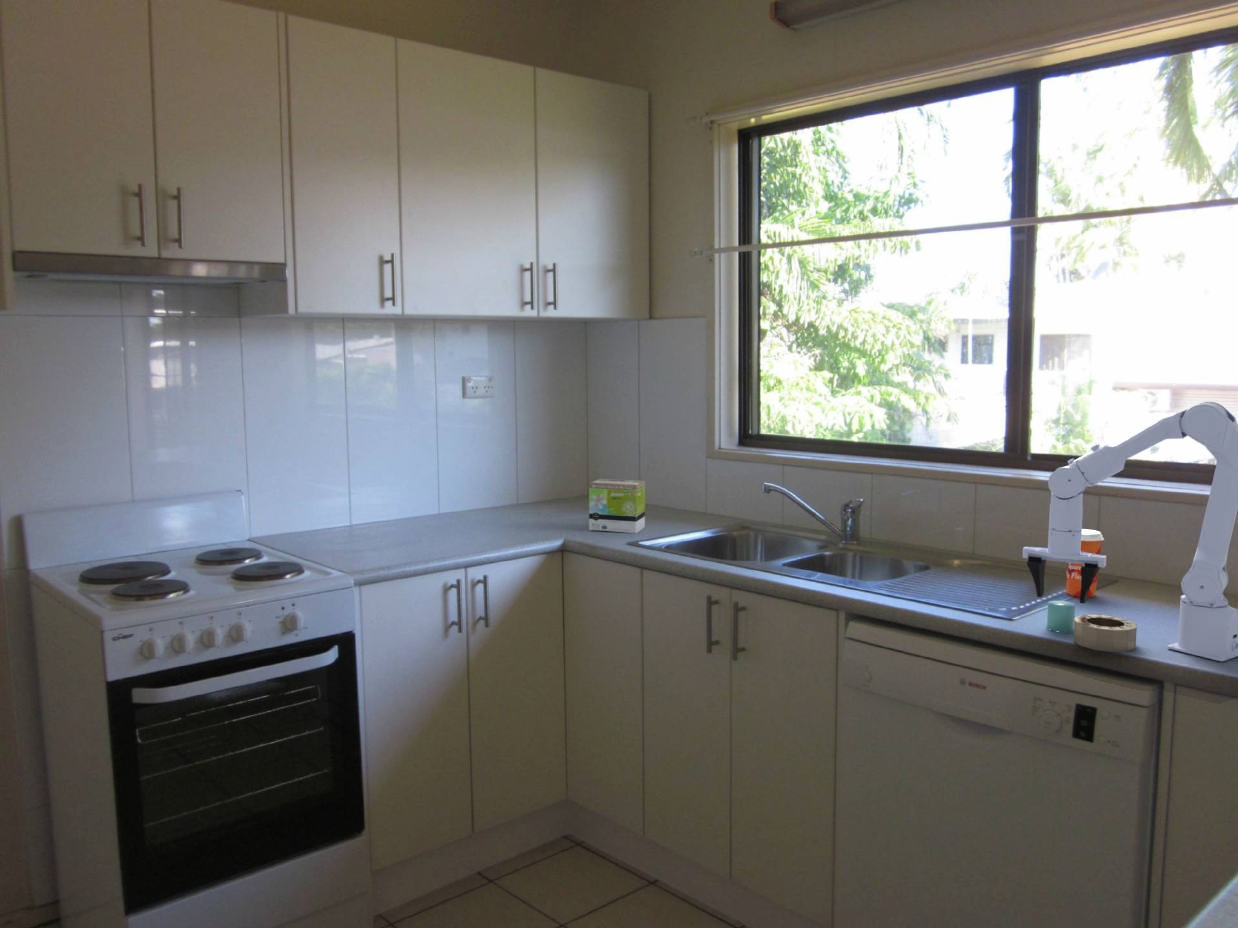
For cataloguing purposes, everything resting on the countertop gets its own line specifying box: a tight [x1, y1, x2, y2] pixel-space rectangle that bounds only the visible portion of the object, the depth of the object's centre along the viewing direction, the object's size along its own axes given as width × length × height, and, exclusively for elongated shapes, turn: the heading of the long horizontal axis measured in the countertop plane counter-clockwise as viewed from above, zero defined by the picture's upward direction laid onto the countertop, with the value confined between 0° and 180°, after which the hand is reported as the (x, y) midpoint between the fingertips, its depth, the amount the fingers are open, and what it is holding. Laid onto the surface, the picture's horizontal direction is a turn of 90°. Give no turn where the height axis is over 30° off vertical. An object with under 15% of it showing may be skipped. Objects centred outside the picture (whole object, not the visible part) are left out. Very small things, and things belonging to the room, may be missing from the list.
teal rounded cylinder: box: [1046, 600, 1076, 633], centre depth 189 cm, size 5×5×5 cm
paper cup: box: [1065, 528, 1105, 599], centre depth 214 cm, size 8×8×14 cm
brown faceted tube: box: [1073, 614, 1137, 653], centre depth 179 cm, size 10×10×4 cm
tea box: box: [588, 478, 646, 534], centre depth 294 cm, size 15×10×15 cm, turn 73°
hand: (1061, 599), depth 188 cm, fingers open, 7 cm apart
